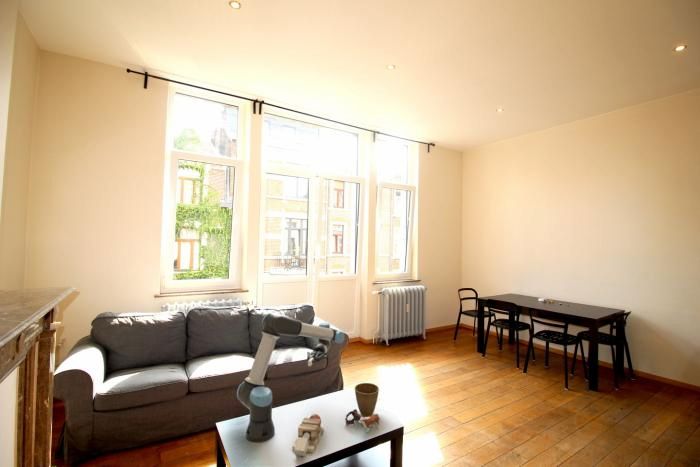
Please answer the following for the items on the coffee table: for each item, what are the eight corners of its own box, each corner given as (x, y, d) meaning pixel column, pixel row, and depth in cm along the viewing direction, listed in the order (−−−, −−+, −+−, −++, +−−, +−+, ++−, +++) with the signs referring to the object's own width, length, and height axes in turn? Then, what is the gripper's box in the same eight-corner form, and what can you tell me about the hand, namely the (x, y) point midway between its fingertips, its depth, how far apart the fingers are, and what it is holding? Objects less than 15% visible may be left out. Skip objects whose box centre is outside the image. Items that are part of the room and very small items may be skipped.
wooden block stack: (310, 448, 168) (310, 434, 169) (297, 446, 170) (297, 432, 170) (321, 427, 188) (321, 414, 188) (309, 426, 189) (309, 413, 189)
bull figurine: (357, 431, 186) (357, 416, 186) (376, 424, 193) (376, 410, 193) (361, 435, 182) (362, 420, 182) (381, 428, 189) (381, 413, 190)
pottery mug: (364, 429, 188) (358, 418, 187) (349, 435, 190) (343, 424, 188) (364, 413, 200) (357, 403, 199) (350, 419, 201) (343, 409, 200)
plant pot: (351, 410, 209) (351, 384, 210) (373, 406, 214) (373, 381, 214) (359, 422, 195) (359, 394, 196) (382, 418, 200) (382, 391, 200)
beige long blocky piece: (313, 453, 166) (313, 436, 166) (292, 450, 168) (292, 433, 168) (323, 431, 186) (323, 416, 186) (304, 428, 188) (305, 414, 188)
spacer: (305, 456, 163) (304, 451, 161) (296, 455, 164) (294, 449, 162) (308, 443, 168) (307, 438, 166) (299, 442, 169) (297, 437, 167)
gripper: (329, 357, 217) (319, 371, 194) (310, 356, 219) (298, 369, 196) (329, 345, 217) (320, 358, 194) (310, 344, 219) (298, 356, 196)
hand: (309, 363), depth 195 cm, fingers closed
